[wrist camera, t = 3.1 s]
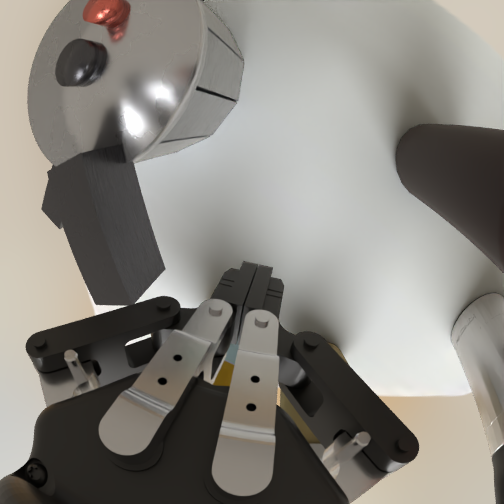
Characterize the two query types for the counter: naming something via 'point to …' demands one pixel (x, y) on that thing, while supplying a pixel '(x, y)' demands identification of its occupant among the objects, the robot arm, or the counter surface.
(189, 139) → the pot
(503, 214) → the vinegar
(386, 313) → the counter surface
